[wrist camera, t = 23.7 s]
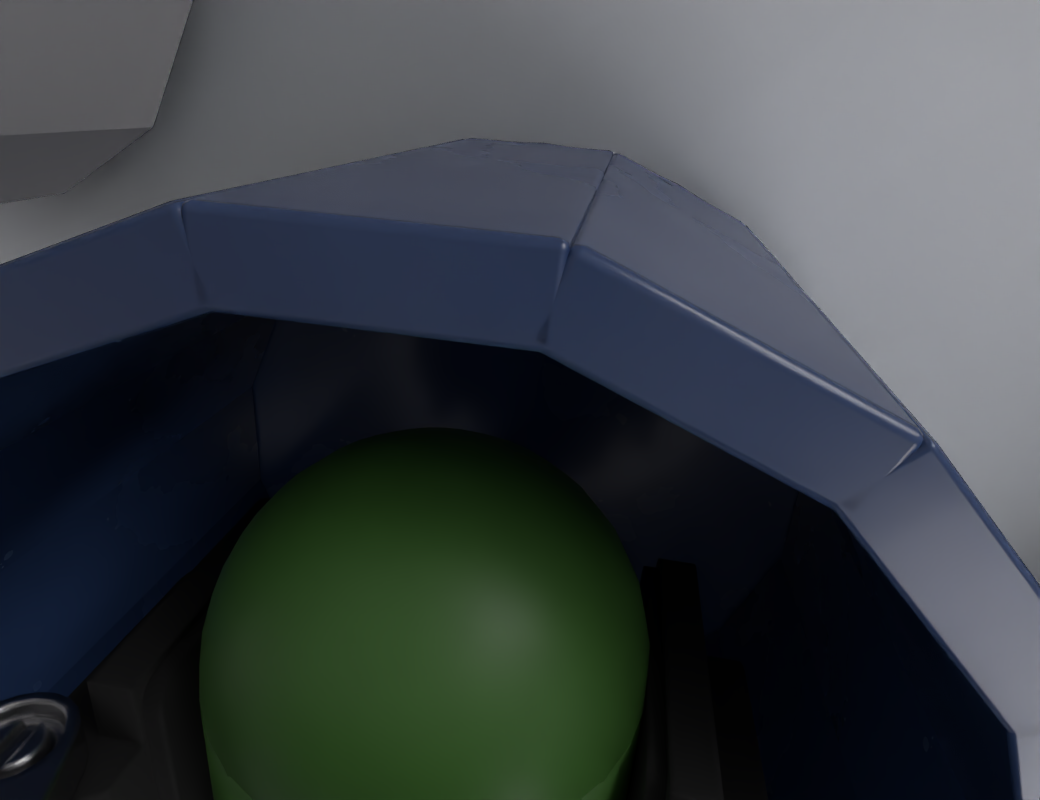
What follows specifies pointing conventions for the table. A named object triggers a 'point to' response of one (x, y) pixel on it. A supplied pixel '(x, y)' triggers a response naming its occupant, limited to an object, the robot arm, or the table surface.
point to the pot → (519, 435)
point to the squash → (425, 633)
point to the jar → (79, 85)
